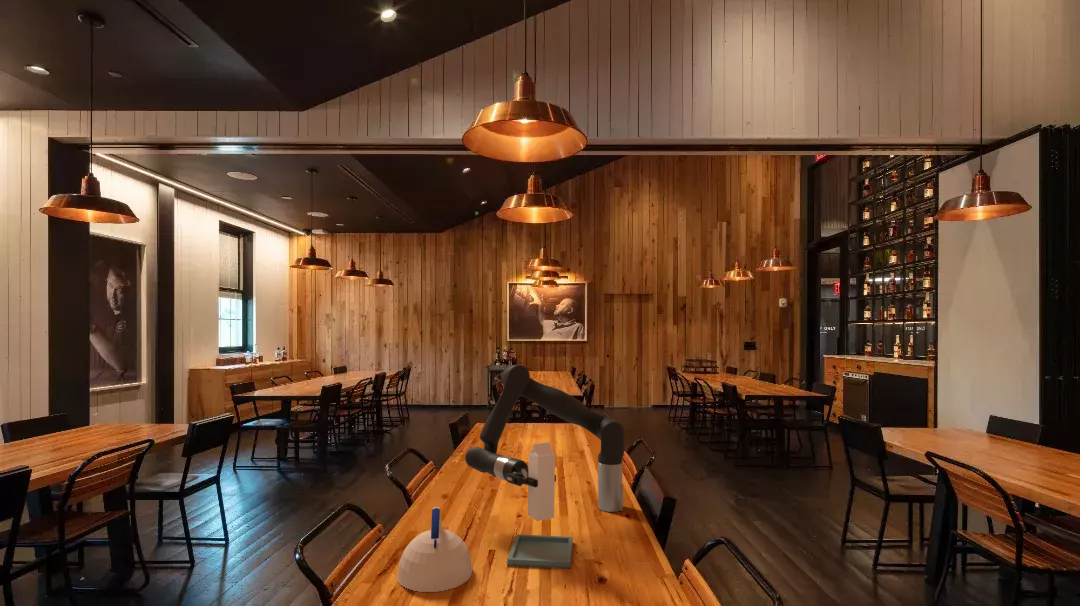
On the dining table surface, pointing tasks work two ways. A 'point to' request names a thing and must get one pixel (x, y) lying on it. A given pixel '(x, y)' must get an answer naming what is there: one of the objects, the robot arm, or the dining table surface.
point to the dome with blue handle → (435, 560)
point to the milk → (541, 482)
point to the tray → (541, 551)
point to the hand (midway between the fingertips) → (546, 481)
